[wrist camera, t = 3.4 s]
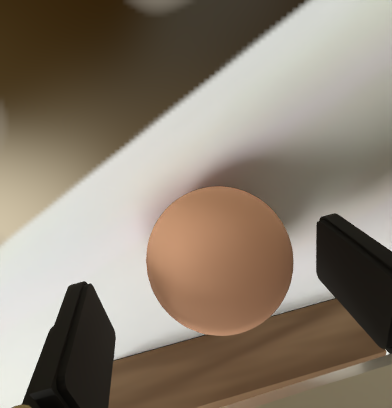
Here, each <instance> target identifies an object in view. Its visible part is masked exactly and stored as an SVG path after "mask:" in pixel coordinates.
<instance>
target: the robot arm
mask: <svg viewBox="0 0 392 408" xmlns="http://www.w3.org/2000/svg"><path fill="white" fill-rule="evenodd" d="M316 272H317V276H318V278H319V279H320V281H321V282H322V283H323V284H324V285H325V286H326V287H327V289H328V290H329V291H330V292H331V293H332V294H333V295H334V297H335V298H336V299H337V300H338V301H339V302H340V303H341V304H342V306H343V307H344V308H345V309H346V310H347V311H348V312H349V313H350V315H351V316H352V317H353V318H354V319H355V320H356V321H357V323H358V324H359V325H360V326H361V327H362V328H363V329H364V330H365V332H366V333H367V334H368V335H369V336H370V337H371V338H372V339H373V341H374V342H375V343H376V344H377V345H378V346H379V347H380V348H382V349H386V350H387V351H388V352H389V353H390V354H389V355H386V356H382V357H379V358H376V359H373V360H369V361H366V362H363V363H360V364H357V365H353V366H350V367H347V368H344V369H341V370H337V371H334V372H331V373H328V374H325V375H321V376H318V377H315V378H312V379H309V380H306V381H302V382H299V383H296V384H293V385H290V386H287V387H283V388H280V389H277V390H274V391H271V392H268V393H265V394H262V395H258V396H255V397H252V398H249V399H246V400H243V401H240V402H237V403H233V404H230V405H227V406H224V407H221V408H392V251H390V250H389V249H387V248H386V247H384V246H383V245H381V244H380V243H379V242H377V241H376V240H374V239H373V238H371V237H370V236H368V235H367V234H365V233H364V232H363V231H361V230H360V229H358V228H357V227H355V226H354V225H352V224H351V223H350V222H348V221H347V220H345V219H344V218H342V217H341V216H339V215H338V214H336V213H334V214H330V215H326V216H323V217H321V218H320V221H318V222H317V239H316ZM115 340H116V337H115V331H114V328H113V326H112V324H111V322H110V320H109V318H108V316H107V314H106V312H105V310H104V308H103V306H102V304H101V302H100V299H99V297H98V295H97V293H96V291H95V289H94V287H93V285H92V284H87V283H86V282H85V281H84V282H80V283H76V284H73V285H70V286H69V287H68V289H67V291H66V294H65V297H64V300H63V302H62V305H61V308H60V311H59V314H58V316H57V319H56V322H55V325H54V326H53V327H52V328H51V329H50V331H49V333H48V336H47V338H46V341H45V344H44V346H43V349H42V352H41V354H40V357H39V360H38V363H37V365H36V368H35V371H34V373H33V376H32V379H31V381H30V384H29V387H28V389H27V392H26V395H25V397H24V400H23V403H22V405H18V406H14V407H12V408H108V406H109V396H110V387H111V378H112V368H113V359H114V349H115Z"/></svg>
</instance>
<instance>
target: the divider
mask: <svg viewBox="0 0 392 408" xmlns="http://www.w3.org/2000/svg"><path fill="white" fill-rule="evenodd" d="M382 356H386V350H385V349H382V348H380V347H379V346H378V345H377V344H376V343H375V342H374V341H373V339H372V338H371V337H370V336H369V335H368V334H367V333H366V332H365V330H364V329H363V328H362V327H361V326H360V325H359V324H358V323H357V321H356V320H355V319H354V318H353V317H352V316H351V315H350V313H349V312H348V311H347V310H346V309H345V308H344V307H343V306H342V304H341V303H340V302H339V301H338V300H337V299H333V300H329V301H326V302H322V303H319V304H315V305H312V306H308V307H304V308H301V309H297V310H294V311H290V312H287V313H283V314H279V315H276V316H272V317H269V318H268V319H267V320H265V321H264V322H263V323H261V324H260V325H258V326H257V327H255V328H253V329H251V330H248V331H246V332H243V333H239V334H235V335H229V336H215V335H205V336H201V337H197V338H194V339H190V340H187V341H183V342H180V343H176V344H172V345H169V346H165V347H162V348H158V349H155V350H151V351H147V352H144V353H140V354H137V355H133V356H130V357H126V358H122V359H119V360H115V361H113V368H112V378H111V387H110V396H109V406H108V408H221V407H224V406H227V405H230V404H233V403H237V402H240V401H243V400H246V399H249V398H252V397H255V396H258V395H262V394H265V393H268V392H271V391H274V390H277V389H280V388H283V387H287V386H290V385H293V384H296V383H299V382H302V381H306V380H309V379H312V378H315V377H318V376H321V375H325V374H328V373H331V372H334V371H337V370H341V369H344V368H347V367H350V366H353V365H357V364H360V363H363V362H366V361H369V360H373V359H376V358H379V357H382Z"/></svg>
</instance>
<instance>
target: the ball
mask: <svg viewBox="0 0 392 408" xmlns="http://www.w3.org/2000/svg"><path fill="white" fill-rule="evenodd" d="M146 263H147V273H148V277H149V281H150V284H151V288H152V290H153V292H154V294H155V296H156V298H157V300H158V301H159V303H160V304H161V306H162V307H163V308H164V309H165V310H166V311H167V312H168V314H169V315H170V316H171V317H173V318H174V319H175V320H176V321H178V322H179V323H181V324H182V325H184V326H185V327H187V328H189V329H192V330H194V331H197V332H199V333H203V334H207V335H215V336H229V335H235V334H239V333H243V332H246V331H248V330H251V329H253V328H255V327H257V326H258V325H260V324H261V323H263V322H264V321H265V320H267V319H268V318H269V317H270V316H271V315H272V314H273V313H274V312H275V311H276V309H277V308H278V307H279V306H280V304H281V303H282V301H283V300H284V298H285V296H286V293H287V291H288V289H289V286H290V283H291V278H292V273H293V251H292V246H291V242H290V239H289V236H288V233H287V231H286V229H285V227H284V225H283V223H282V222H281V220H280V219H279V217H278V216H277V215H276V213H275V212H274V211H273V210H272V209H271V208H270V207H269V206H268V205H267V204H266V203H264V202H263V201H262V200H260V199H259V198H257V197H256V196H254V195H252V194H250V193H248V192H246V191H243V190H240V189H236V188H231V187H222V186H215V187H206V188H201V189H198V190H195V191H192V192H190V193H187V194H185V195H184V196H182V197H180V198H179V199H177V200H176V201H175V202H173V203H172V204H171V205H170V206H169V207H168V208H167V209H166V210H165V211H164V212H163V214H162V215H161V216H160V218H159V219H158V220H157V222H156V224H155V226H154V228H153V230H152V233H151V235H150V238H149V242H148V246H147V257H146Z"/></svg>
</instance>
